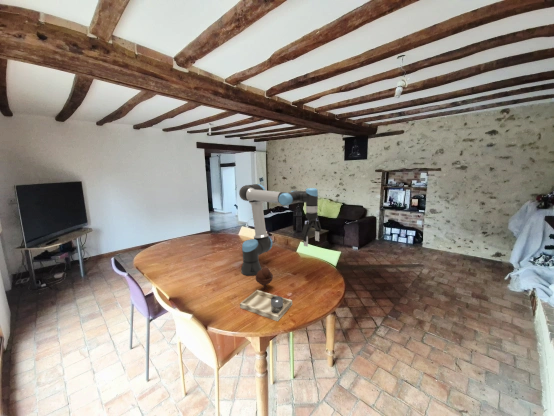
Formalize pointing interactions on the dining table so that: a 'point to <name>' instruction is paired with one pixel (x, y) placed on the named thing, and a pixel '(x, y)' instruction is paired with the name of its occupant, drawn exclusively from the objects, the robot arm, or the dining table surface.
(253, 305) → the cream rectangular tray
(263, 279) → the ice cream bowl
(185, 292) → the dining table surface
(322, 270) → the dining table surface
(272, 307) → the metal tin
